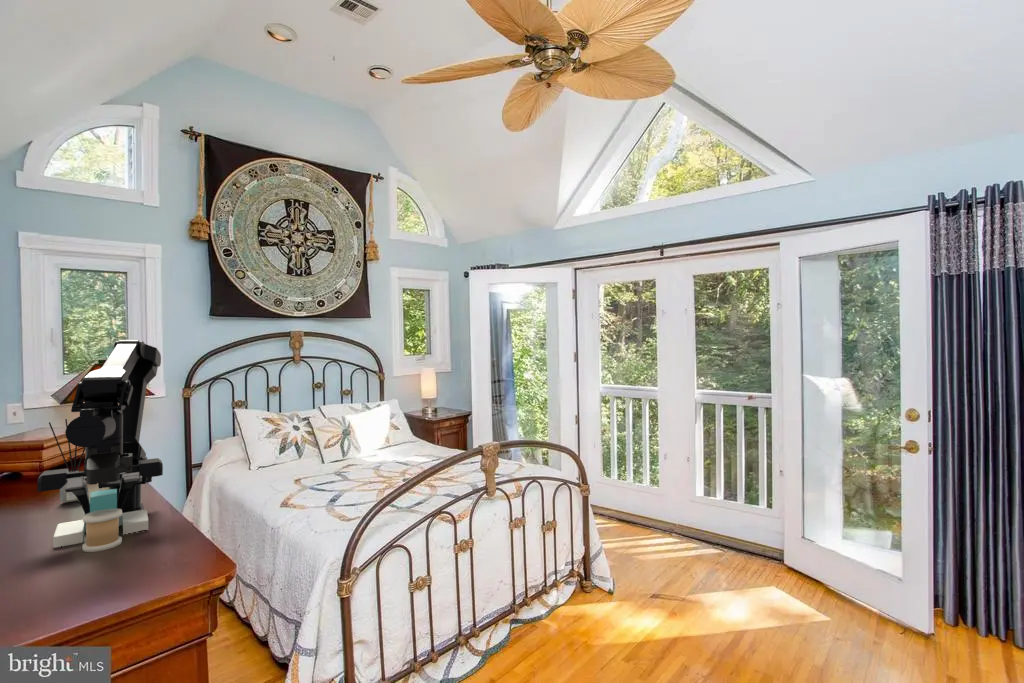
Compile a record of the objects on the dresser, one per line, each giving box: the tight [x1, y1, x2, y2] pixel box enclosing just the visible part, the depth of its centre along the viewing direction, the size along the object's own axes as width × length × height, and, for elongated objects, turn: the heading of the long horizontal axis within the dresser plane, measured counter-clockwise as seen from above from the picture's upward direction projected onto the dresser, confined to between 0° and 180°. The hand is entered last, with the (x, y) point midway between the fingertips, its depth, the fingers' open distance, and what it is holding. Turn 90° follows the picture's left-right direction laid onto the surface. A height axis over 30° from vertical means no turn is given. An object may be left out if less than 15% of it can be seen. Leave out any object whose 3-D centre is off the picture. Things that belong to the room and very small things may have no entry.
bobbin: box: [81, 508, 123, 553], centre depth 91 cm, size 6×6×6 cm
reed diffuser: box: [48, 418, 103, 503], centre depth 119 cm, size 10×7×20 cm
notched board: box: [52, 508, 149, 549], centre depth 98 cm, size 9×14×2 cm, turn 129°
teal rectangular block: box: [89, 489, 117, 512], centre depth 97 cm, size 5×4×6 cm
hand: (103, 517), depth 97 cm, fingers closed on teal rectangular block, 4 cm apart
